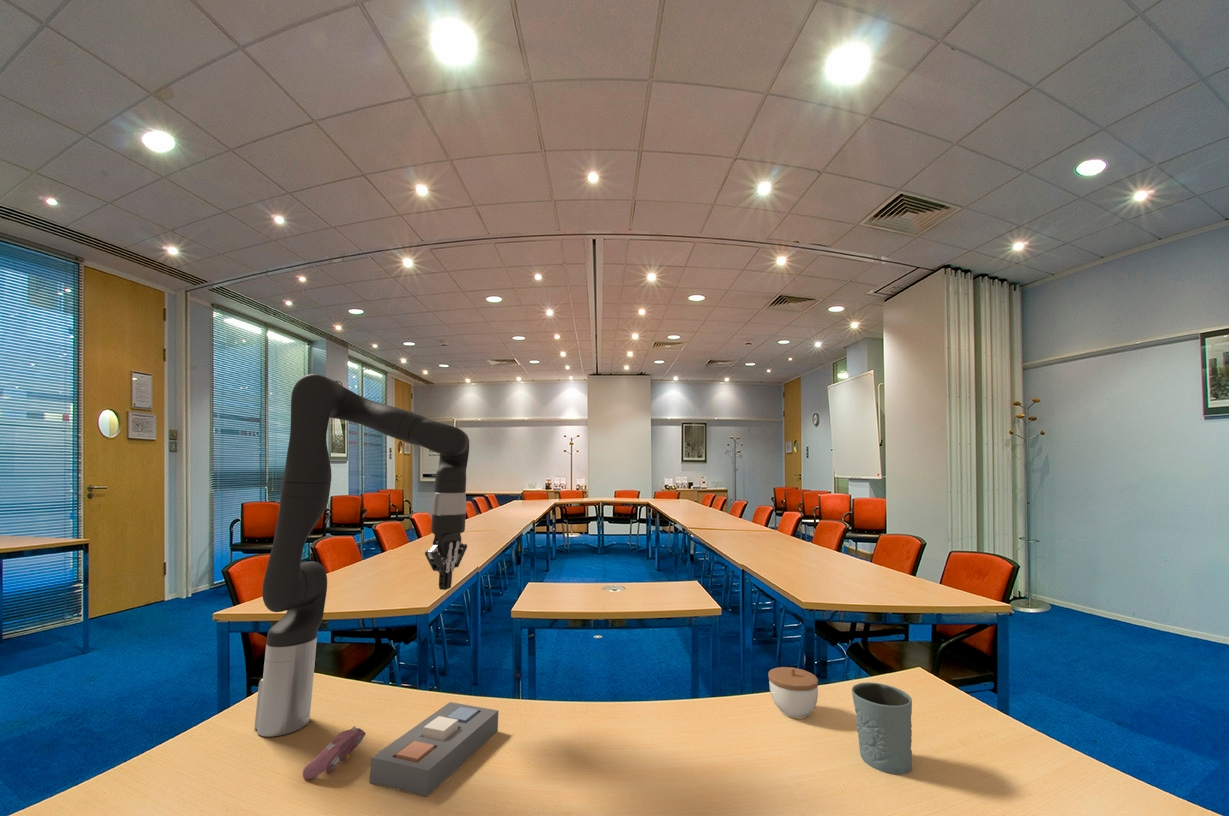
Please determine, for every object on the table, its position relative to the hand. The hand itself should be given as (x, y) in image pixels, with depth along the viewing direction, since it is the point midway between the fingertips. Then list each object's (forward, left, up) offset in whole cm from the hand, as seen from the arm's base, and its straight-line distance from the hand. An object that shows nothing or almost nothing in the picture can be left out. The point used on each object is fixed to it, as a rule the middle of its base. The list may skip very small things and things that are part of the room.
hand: (444, 588), depth 110 cm
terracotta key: (+10, -20, -25) cm, 33 cm away
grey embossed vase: (+91, +12, -27) cm, 96 cm away
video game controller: (-6, -22, -27) cm, 35 cm away
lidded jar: (+76, +27, -27) cm, 85 cm away
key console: (+10, -12, -27) cm, 31 cm away
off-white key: (+10, -13, -24) cm, 29 cm away
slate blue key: (+10, -6, -25) cm, 28 cm away
